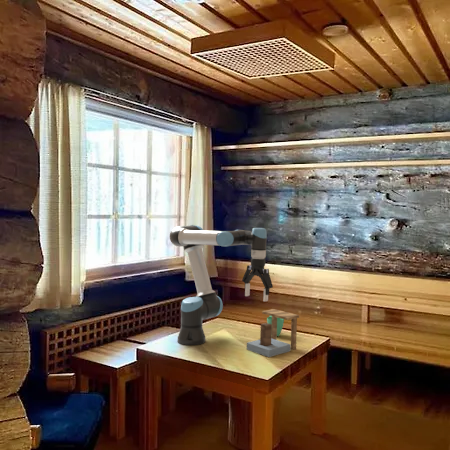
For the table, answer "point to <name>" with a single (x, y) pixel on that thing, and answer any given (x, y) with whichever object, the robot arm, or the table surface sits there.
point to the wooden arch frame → (286, 316)
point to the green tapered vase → (279, 324)
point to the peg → (265, 334)
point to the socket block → (269, 347)
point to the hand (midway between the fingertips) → (256, 298)
